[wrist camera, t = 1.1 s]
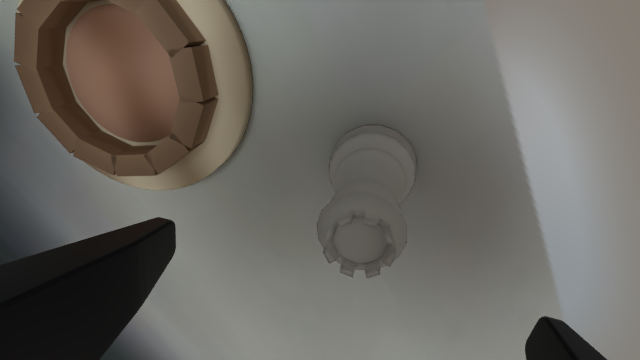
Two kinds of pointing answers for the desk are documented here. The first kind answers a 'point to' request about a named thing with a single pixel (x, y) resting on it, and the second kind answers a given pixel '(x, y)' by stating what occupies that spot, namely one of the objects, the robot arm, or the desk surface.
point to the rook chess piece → (367, 200)
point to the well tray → (138, 84)
